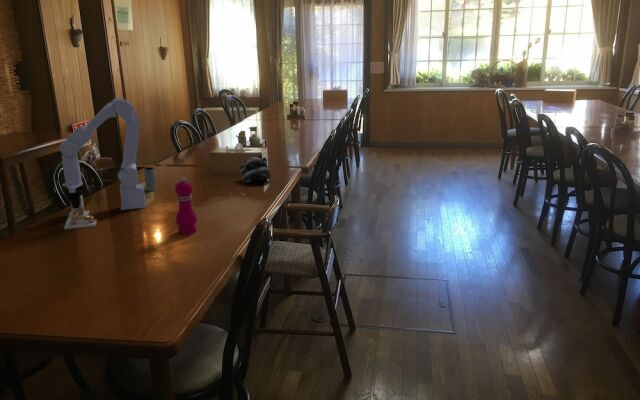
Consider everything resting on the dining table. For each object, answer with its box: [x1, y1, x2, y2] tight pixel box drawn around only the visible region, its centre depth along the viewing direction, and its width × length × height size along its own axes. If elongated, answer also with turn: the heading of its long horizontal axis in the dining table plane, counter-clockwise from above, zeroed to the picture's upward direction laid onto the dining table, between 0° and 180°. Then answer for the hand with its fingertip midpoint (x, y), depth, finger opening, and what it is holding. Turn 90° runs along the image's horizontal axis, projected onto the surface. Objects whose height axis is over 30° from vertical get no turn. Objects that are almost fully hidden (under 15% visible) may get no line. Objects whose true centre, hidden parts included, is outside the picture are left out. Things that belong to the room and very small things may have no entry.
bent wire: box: [71, 212, 95, 225], centre depth 192 cm, size 8×8×3 cm
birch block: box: [69, 194, 86, 216], centre depth 200 cm, size 4×4×7 cm
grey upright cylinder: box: [143, 166, 157, 192], centre depth 234 cm, size 4×4×10 cm
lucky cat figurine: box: [239, 154, 272, 184], centre depth 248 cm, size 15×12×14 cm
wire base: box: [63, 217, 98, 230], centre depth 192 cm, size 10×11×1 cm
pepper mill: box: [174, 176, 198, 235], centre depth 179 cm, size 7×7×20 cm
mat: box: [67, 210, 90, 219], centre depth 201 cm, size 7×7×1 cm
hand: (77, 205), depth 200 cm, fingers open, 5 cm apart
